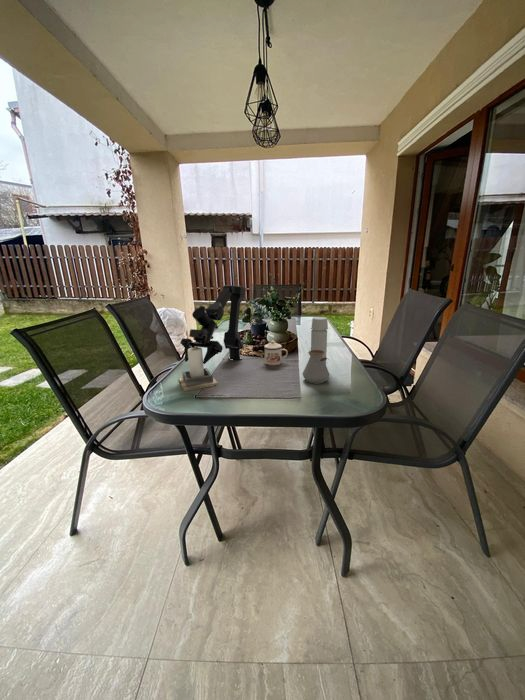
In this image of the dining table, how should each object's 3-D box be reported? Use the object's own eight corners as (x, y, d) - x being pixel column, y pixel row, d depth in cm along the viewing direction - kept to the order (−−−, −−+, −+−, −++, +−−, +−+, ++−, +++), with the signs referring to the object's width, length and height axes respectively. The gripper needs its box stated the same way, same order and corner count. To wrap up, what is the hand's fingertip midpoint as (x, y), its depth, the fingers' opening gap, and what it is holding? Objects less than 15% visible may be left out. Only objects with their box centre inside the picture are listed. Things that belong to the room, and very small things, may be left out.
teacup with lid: (264, 366, 144) (264, 343, 141) (264, 360, 153) (263, 339, 150) (288, 365, 144) (288, 342, 141) (286, 359, 153) (286, 338, 150)
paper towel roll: (192, 377, 128) (189, 347, 124) (205, 377, 128) (203, 347, 124) (189, 383, 122) (186, 351, 119) (203, 382, 123) (200, 351, 119)
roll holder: (179, 379, 129) (178, 371, 128) (209, 374, 134) (209, 366, 133) (184, 391, 117) (183, 382, 116) (217, 385, 122) (217, 376, 121)
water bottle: (326, 373, 132) (328, 319, 125) (309, 372, 133) (310, 319, 126) (326, 367, 140) (328, 316, 133) (310, 366, 142) (311, 316, 135)
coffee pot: (300, 376, 130) (300, 344, 126) (325, 375, 130) (326, 343, 126) (310, 396, 109) (311, 358, 105) (340, 395, 110) (342, 357, 106)
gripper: (180, 320, 126) (166, 351, 119) (217, 322, 119) (204, 355, 112) (192, 334, 135) (180, 363, 128) (227, 336, 128) (216, 368, 121)
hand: (194, 362), depth 122 cm, fingers open, 9 cm apart
